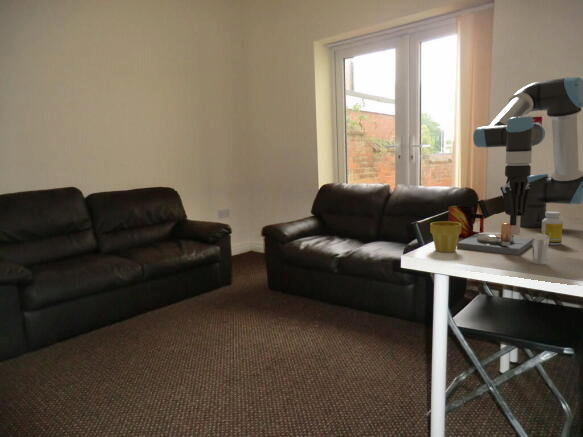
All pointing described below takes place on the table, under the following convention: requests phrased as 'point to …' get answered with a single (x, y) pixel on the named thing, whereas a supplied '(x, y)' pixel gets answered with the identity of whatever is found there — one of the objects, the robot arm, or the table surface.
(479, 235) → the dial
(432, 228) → the plant pot
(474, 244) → the base plate
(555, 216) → the pill bottle
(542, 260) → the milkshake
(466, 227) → the mug
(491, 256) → the table surface
